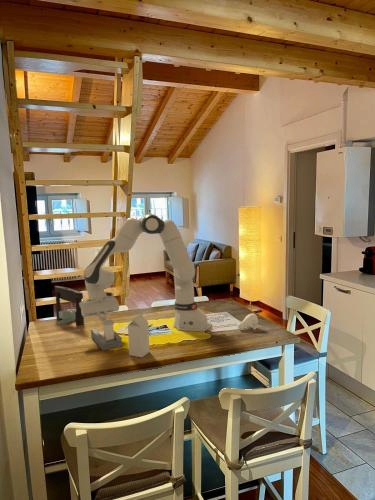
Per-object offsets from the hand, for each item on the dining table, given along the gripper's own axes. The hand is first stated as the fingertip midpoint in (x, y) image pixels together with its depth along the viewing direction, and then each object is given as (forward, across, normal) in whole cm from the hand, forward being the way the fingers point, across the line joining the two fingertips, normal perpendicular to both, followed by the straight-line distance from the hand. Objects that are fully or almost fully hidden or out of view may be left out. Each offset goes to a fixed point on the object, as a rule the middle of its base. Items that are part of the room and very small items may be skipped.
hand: (103, 320), depth 190 cm
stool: (-24, -9, +40) cm, 47 cm away
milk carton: (+27, +9, -11) cm, 31 cm away
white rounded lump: (+29, +74, -12) cm, 80 cm away
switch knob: (+11, 0, -1) cm, 11 cm away
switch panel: (+10, 0, +6) cm, 11 cm away
